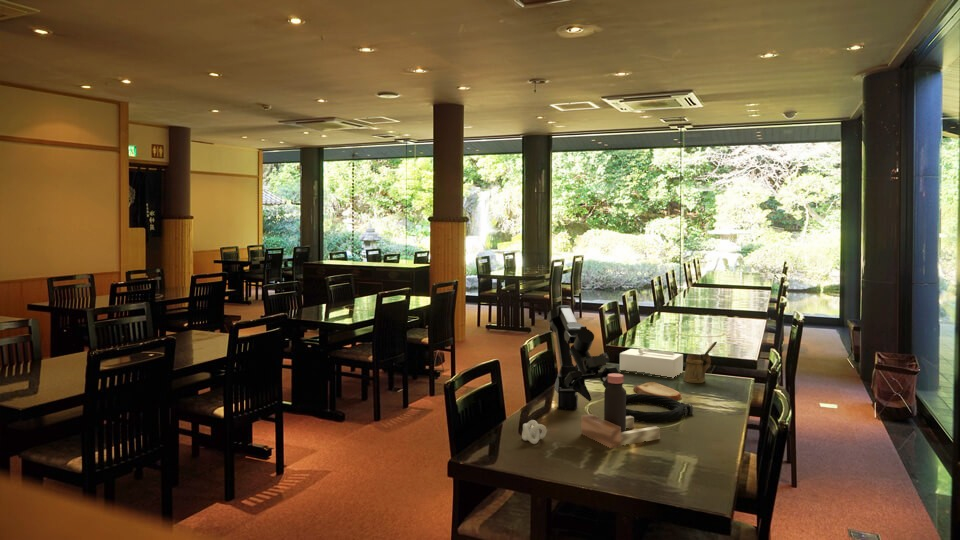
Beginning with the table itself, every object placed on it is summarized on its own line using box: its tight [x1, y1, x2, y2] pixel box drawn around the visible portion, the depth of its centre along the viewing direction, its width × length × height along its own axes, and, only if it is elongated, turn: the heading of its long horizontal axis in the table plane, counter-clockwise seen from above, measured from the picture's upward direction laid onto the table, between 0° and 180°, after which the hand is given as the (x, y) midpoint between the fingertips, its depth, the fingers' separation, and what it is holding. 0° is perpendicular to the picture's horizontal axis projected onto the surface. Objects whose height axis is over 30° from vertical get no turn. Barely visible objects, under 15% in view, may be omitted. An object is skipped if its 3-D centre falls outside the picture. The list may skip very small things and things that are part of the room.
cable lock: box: [626, 393, 694, 423], centre depth 228 cm, size 28×4×30 cm
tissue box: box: [619, 347, 684, 379], centre depth 292 cm, size 14×25×11 cm, turn 56°
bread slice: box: [633, 381, 683, 401], centre depth 253 cm, size 18×18×4 cm
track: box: [580, 413, 661, 449], centre depth 200 cm, size 20×15×6 cm
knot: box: [521, 419, 547, 445], centre depth 196 cm, size 8×8×6 cm
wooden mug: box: [682, 341, 718, 384], centre depth 272 cm, size 9×14×18 cm, turn 68°
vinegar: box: [603, 373, 627, 432], centre depth 199 cm, size 7×7×20 cm
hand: (602, 398), depth 205 cm, fingers open, 9 cm apart
